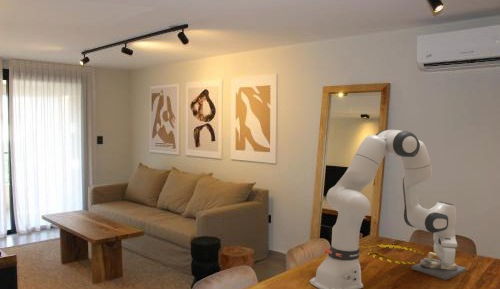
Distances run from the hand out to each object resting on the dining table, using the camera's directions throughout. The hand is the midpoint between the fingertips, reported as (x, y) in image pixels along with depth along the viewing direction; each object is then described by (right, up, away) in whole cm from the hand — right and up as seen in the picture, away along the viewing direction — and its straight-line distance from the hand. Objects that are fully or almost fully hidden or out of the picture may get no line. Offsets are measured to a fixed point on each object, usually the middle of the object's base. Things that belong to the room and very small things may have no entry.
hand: (442, 267), depth 175 cm
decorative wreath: (-13, -2, +28) cm, 31 cm away
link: (0, -1, +3) cm, 3 cm away
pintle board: (+1, -2, +5) cm, 5 cm away
